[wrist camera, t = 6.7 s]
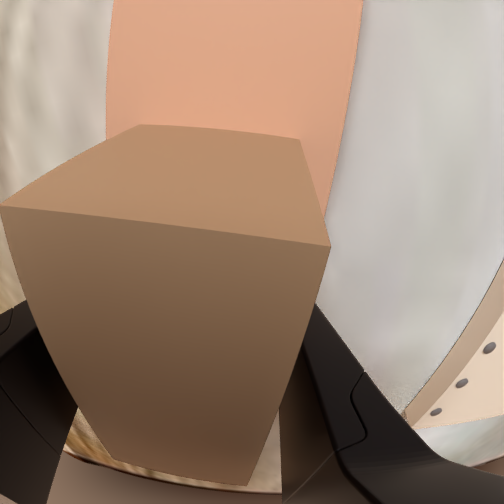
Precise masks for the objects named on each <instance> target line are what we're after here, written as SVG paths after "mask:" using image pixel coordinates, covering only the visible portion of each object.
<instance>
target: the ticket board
mask: <svg viewBox="0 0 504 504" xmlns="http://www.w3.org/2000/svg"><path fill="white" fill-rule="evenodd" d="M405 412H406V416H407V420H408V424H409V425H410V426H411V427H412V429H420V428H429V427H437V426H444V425H451V424H458V423H464V422H469V421H475V420H480V419H485V418H490V417H494V416H499V415H503V414H504V260H503V262H502V265H501V267H500V269H499V271H498V272H497V274H496V276H495V278H494V280H493V282H492V284H491V286H490V288H489V290H488V291H487V293H486V295H485V297H484V299H483V300H482V302H481V304H480V305H479V307H478V309H477V311H476V312H475V314H474V316H473V317H472V319H471V320H470V322H469V324H468V325H467V327H466V328H465V330H464V331H463V333H462V335H461V336H460V338H459V339H458V341H457V342H456V344H455V345H454V347H453V348H452V349H451V351H450V352H449V354H448V355H447V357H446V358H445V359H444V361H443V362H442V364H441V365H440V366H439V368H438V369H437V370H436V372H435V373H434V374H433V376H432V377H431V378H430V379H429V381H428V382H427V383H426V385H425V386H424V387H423V388H422V390H421V391H420V392H419V393H418V395H417V396H416V397H415V398H414V399H413V401H412V402H411V403H410V404H409V405H408V406H407V408H406V409H405Z"/></svg>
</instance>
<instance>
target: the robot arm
mask: <svg viewBox="0 0 504 504" xmlns="http://www.w3.org/2000/svg"><path fill="white" fill-rule="evenodd" d="M77 409H78V405H77V404H76V402H75V400H74V399H73V397H72V395H71V393H70V392H69V390H68V388H67V386H66V384H65V383H64V381H63V379H62V377H61V375H60V373H59V371H58V369H57V367H56V365H55V364H54V362H53V359H52V357H51V355H50V353H49V351H48V349H47V347H46V345H45V343H44V341H43V338H42V336H41V334H40V332H39V329H38V327H37V325H36V322H35V320H34V318H33V315H32V313H31V310H30V308H29V305H28V302H27V300H25V301H23V302H21V303H20V304H18V305H16V306H14V309H13V308H11V309H9V310H7V311H6V312H4V313H2V314H0V504H13V501H14V502H15V503H17V504H46V503H47V500H48V496H49V492H50V489H51V486H52V482H53V479H54V476H55V472H56V469H57V466H58V463H59V460H60V455H61V453H62V450H63V447H64V444H65V442H66V439H67V436H68V433H69V430H70V428H71V425H72V422H73V419H74V417H75V414H76V411H77ZM279 424H280V448H281V476H282V504H504V476H501V475H497V474H493V473H489V472H485V471H481V470H478V469H474V468H471V467H468V466H464V465H461V464H458V463H455V462H452V461H449V460H447V459H445V458H443V457H441V456H440V455H438V454H437V453H435V452H434V451H433V450H432V449H431V448H430V447H429V446H428V445H427V444H426V443H425V442H424V441H423V440H422V439H421V437H420V436H419V435H418V434H417V433H416V432H415V431H414V430H413V429H412V427H411V426H410V425H409V424H408V423H407V422H406V421H405V420H404V419H403V418H402V416H401V415H400V414H399V413H398V412H397V411H396V410H395V408H394V407H393V406H392V405H391V404H390V403H389V401H388V400H387V399H386V398H385V397H384V395H383V394H382V393H381V392H380V390H379V389H378V388H377V386H376V385H375V384H374V382H373V381H372V380H371V378H370V377H369V375H368V374H367V373H366V372H364V369H363V367H362V366H361V365H360V363H359V362H358V360H357V359H356V358H355V356H354V355H353V354H352V352H351V351H350V350H349V348H348V347H347V345H346V344H345V343H344V341H343V340H342V339H341V337H340V336H339V335H338V333H337V332H336V330H335V329H334V328H333V326H332V325H331V324H330V322H329V321H328V320H327V318H326V317H325V316H324V314H323V313H322V311H321V310H320V309H319V307H318V306H317V305H316V303H315V304H314V307H313V310H312V313H311V317H310V320H309V323H308V326H307V329H306V332H305V335H304V338H303V341H302V344H301V347H300V350H299V353H298V356H297V359H296V362H295V365H294V368H293V370H292V373H291V376H290V379H289V382H288V384H287V387H286V390H285V393H284V395H283V398H282V401H281V403H280V406H279Z"/></svg>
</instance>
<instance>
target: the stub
mask: <svg viewBox="0 0 504 504" xmlns="http://www.w3.org/2000/svg"><path fill="white" fill-rule="evenodd" d="M362 6H363V0H114V4H113V11H112V20H111V29H110V39H109V51H108V65H107V86H106V141H104V142H102V143H100V144H98V145H96V146H94V147H92V148H90V149H88V150H86V151H85V152H83V153H81V154H79V155H77V156H75V157H74V158H72V159H70V160H68V161H67V162H65V163H63V164H61V165H60V166H58V167H56V168H55V169H53V170H51V171H50V172H48V173H46V174H45V175H43V176H42V177H40V178H38V179H37V180H35V181H34V182H32V183H30V184H29V185H27V186H26V187H24V188H23V189H21V190H20V191H18V192H17V193H15V194H14V195H12V196H11V197H10V198H8V199H7V200H5V201H4V202H2V203H1V204H0V214H1V218H2V222H3V226H4V230H5V234H6V238H7V242H8V245H9V249H10V252H11V256H12V259H13V262H14V265H15V268H16V272H17V275H18V278H19V280H20V283H21V286H22V289H23V292H24V294H25V297H26V300H27V302H28V305H29V308H30V310H31V313H32V315H33V318H34V320H35V322H36V325H37V327H38V329H39V332H40V334H41V336H42V338H43V341H44V343H45V345H46V347H47V349H48V351H49V353H50V355H51V357H52V359H53V362H54V364H55V365H56V367H57V369H58V371H59V373H60V375H61V377H62V379H63V381H64V383H65V384H66V386H67V388H68V390H69V392H70V393H71V395H72V397H73V399H74V400H75V402H76V404H77V405H78V407H79V409H80V410H81V412H82V414H83V415H84V417H85V418H86V420H87V422H88V423H89V425H90V426H91V428H92V429H93V431H94V432H95V434H96V435H97V437H98V438H99V440H100V441H101V443H102V444H103V446H104V447H105V448H106V450H107V451H108V453H109V454H110V455H111V457H112V458H113V459H115V460H118V461H121V462H125V463H128V464H132V465H135V466H139V467H143V468H146V469H150V470H154V471H158V472H163V473H167V474H172V475H176V476H181V477H186V478H192V479H197V480H203V481H210V482H216V483H223V484H231V485H240V486H247V485H248V482H249V480H250V478H251V476H252V473H253V471H254V469H255V466H256V464H257V461H258V459H259V457H260V454H261V452H262V449H263V447H264V445H265V442H266V440H267V437H268V435H269V432H270V430H271V427H272V424H273V422H274V419H275V417H276V414H277V411H278V409H279V406H280V403H281V401H282V398H283V395H284V393H285V390H286V387H287V384H288V382H289V379H290V376H291V373H292V370H293V368H294V365H295V362H296V359H297V356H298V353H299V350H300V347H301V344H302V341H303V338H304V335H305V332H306V329H307V326H308V323H309V320H310V317H311V313H312V310H313V307H314V304H315V300H316V297H317V294H318V291H319V287H320V284H321V281H322V277H323V274H324V270H325V267H326V263H327V260H328V256H329V253H330V249H331V244H330V240H329V237H328V233H327V229H326V226H325V222H324V216H325V211H326V207H327V203H328V198H329V194H330V190H331V185H332V180H333V176H334V171H335V167H336V162H337V157H338V152H339V147H340V142H341V137H342V132H343V127H344V122H345V116H346V111H347V105H348V100H349V94H350V88H351V82H352V76H353V70H354V64H355V57H356V51H357V44H358V37H359V30H360V22H361V14H362Z"/></svg>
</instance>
